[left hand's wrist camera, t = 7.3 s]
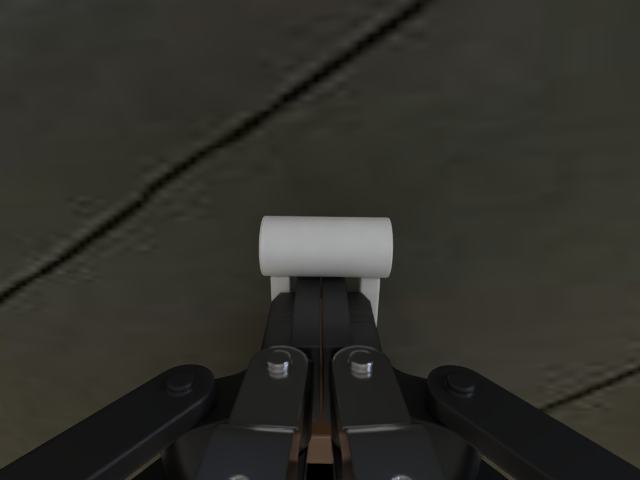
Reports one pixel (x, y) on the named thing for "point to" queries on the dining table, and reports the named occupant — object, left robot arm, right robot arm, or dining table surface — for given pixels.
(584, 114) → the dining table surface
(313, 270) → the drawer
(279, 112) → the dining table surface
